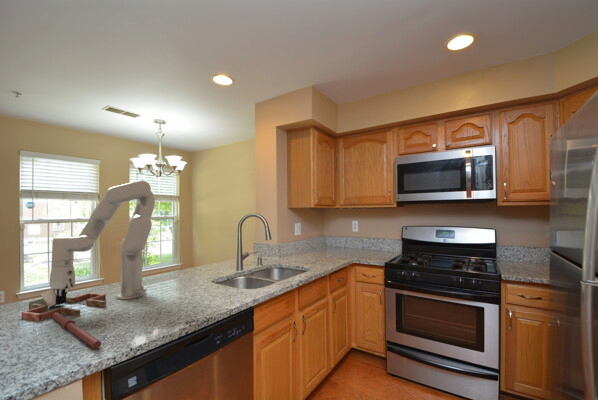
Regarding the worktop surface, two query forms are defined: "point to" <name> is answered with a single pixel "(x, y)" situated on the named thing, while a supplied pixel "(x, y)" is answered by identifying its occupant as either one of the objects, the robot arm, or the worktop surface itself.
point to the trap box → (40, 307)
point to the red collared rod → (77, 330)
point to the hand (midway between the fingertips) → (60, 303)
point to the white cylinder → (50, 298)
